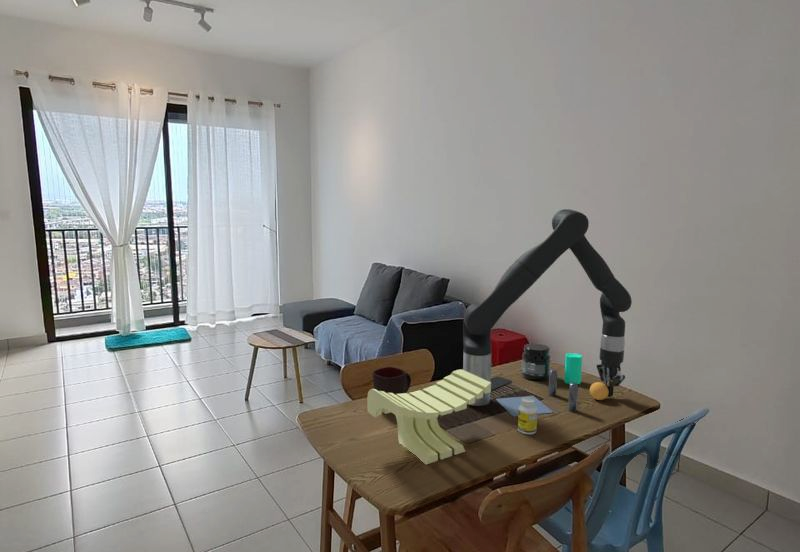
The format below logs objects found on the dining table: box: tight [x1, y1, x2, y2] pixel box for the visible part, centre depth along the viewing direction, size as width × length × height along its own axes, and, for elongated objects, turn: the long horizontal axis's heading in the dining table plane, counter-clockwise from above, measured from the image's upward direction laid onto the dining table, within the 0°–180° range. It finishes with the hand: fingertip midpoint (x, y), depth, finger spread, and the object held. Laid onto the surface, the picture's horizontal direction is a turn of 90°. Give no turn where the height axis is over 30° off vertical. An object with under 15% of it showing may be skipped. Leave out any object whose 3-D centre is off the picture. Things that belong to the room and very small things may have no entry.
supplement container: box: [521, 343, 552, 382], centre depth 190 cm, size 10×10×12 cm
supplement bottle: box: [517, 396, 538, 435], centre depth 144 cm, size 5×5×10 cm
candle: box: [563, 352, 583, 385], centre depth 184 cm, size 6×6×12 cm
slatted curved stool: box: [366, 368, 492, 465], centre depth 135 cm, size 30×16×18 cm, turn 122°
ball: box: [589, 381, 609, 401], centre depth 168 cm, size 6×6×6 cm
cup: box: [372, 366, 412, 395], centre depth 162 cm, size 10×14×12 cm
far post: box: [548, 368, 558, 398], centre depth 172 cm, size 3×3×9 cm
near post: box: [567, 382, 579, 413], centre depth 159 cm, size 3×3×9 cm
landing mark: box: [495, 395, 554, 417], centre depth 163 cm, size 14×14×1 cm
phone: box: [490, 376, 513, 392], centre depth 183 cm, size 7×1×15 cm
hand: (608, 395), depth 170 cm, fingers closed
